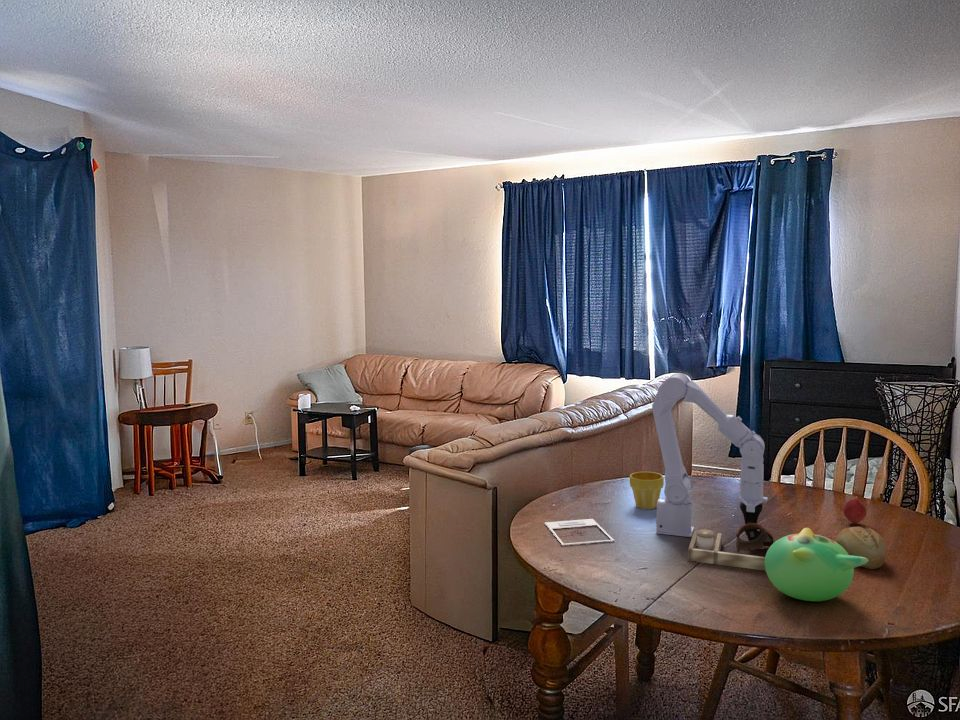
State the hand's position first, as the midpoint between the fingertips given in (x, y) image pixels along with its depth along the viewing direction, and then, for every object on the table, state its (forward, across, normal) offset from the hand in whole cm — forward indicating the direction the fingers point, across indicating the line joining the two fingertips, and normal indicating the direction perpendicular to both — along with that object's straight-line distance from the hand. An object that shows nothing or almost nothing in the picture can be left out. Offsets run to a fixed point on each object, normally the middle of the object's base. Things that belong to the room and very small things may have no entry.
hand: (750, 530), depth 192 cm
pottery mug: (+3, -7, -1) cm, 8 cm away
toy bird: (+3, -32, -13) cm, 35 cm away
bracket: (+3, -12, +3) cm, 13 cm away
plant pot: (+3, +21, +31) cm, 37 cm away
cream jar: (+3, -13, +11) cm, 17 cm away
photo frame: (+4, -9, +45) cm, 46 cm away
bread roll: (+3, -4, -26) cm, 26 cm away
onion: (+3, +24, -27) cm, 36 cm away
